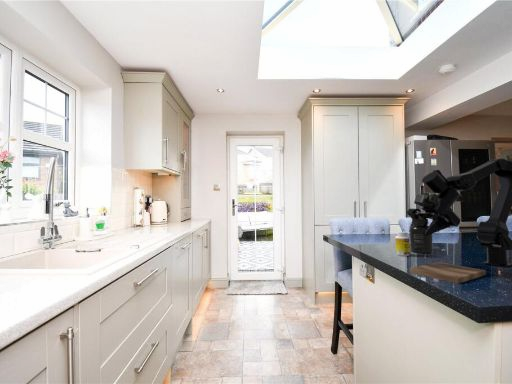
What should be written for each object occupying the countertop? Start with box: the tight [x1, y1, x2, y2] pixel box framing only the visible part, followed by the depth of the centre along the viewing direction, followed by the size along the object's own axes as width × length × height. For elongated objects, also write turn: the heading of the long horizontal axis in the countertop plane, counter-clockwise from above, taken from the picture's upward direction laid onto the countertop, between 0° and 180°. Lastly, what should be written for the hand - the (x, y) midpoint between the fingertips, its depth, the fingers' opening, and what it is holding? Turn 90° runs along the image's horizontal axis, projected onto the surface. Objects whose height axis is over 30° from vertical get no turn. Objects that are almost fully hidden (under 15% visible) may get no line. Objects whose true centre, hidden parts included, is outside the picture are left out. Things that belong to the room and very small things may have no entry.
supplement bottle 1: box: [394, 231, 411, 257], centre depth 120 cm, size 6×6×10 cm
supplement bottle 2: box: [409, 218, 434, 255], centre depth 96 cm, size 7×7×12 cm
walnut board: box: [409, 261, 487, 285], centre depth 88 cm, size 18×14×2 cm
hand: (417, 234), depth 96 cm, fingers closed on supplement bottle 2, 7 cm apart
